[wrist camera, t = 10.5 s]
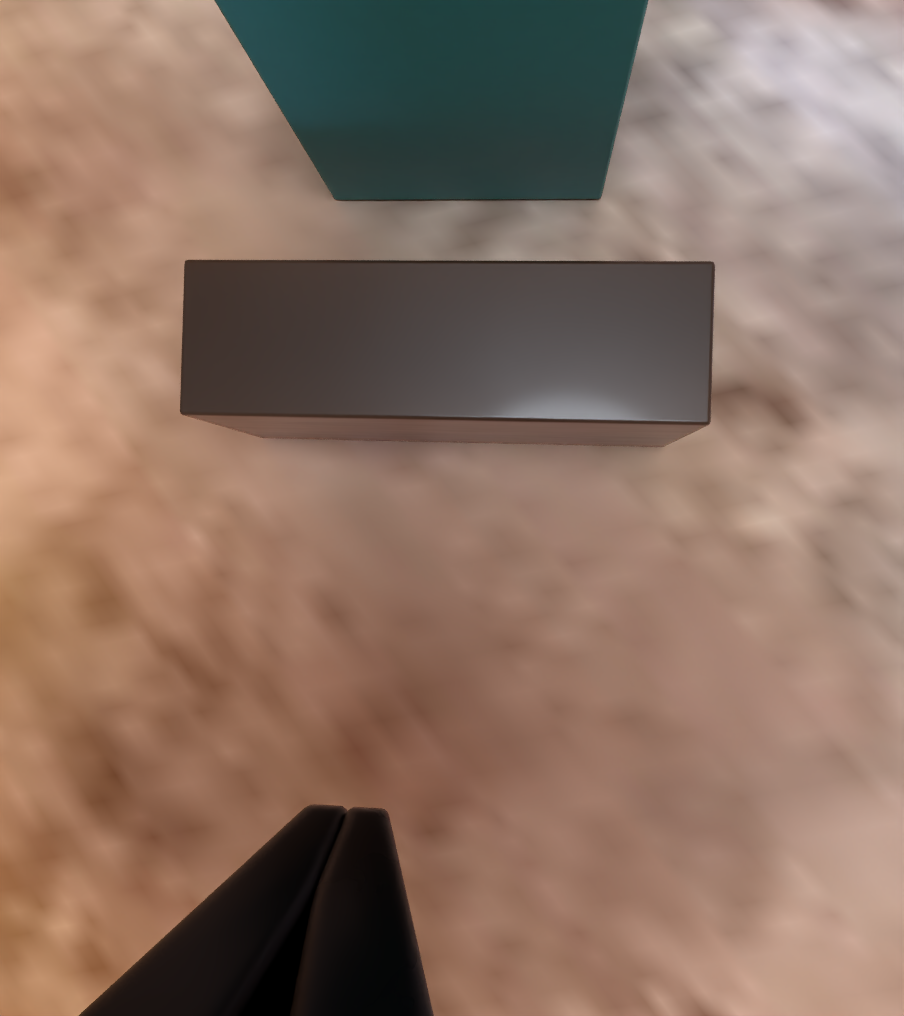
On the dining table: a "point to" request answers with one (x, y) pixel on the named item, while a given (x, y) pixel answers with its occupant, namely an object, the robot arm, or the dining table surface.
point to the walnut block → (450, 350)
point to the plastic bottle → (448, 91)
